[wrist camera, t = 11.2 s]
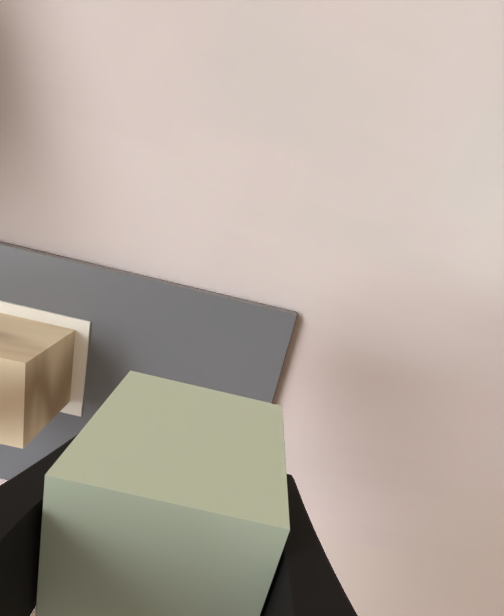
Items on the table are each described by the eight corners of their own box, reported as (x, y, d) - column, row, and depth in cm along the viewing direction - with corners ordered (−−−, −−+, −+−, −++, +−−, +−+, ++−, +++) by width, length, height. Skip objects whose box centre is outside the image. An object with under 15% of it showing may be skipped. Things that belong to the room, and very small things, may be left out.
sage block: (247, 521, 11) (236, 681, 8) (113, 491, 11) (33, 637, 8) (282, 406, 10) (289, 530, 6) (130, 370, 10) (44, 474, 6)
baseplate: (235, 523, 23) (234, 531, 22) (-22, 466, 22) (-29, 473, 22) (296, 311, 18) (297, 315, 18) (-24, 235, 18) (-33, 237, 17)
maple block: (70, 401, 20) (22, 448, 16) (-8, 384, 20) (-74, 427, 16) (75, 329, 19) (25, 363, 15) (-8, 311, 19) (-80, 339, 15)
